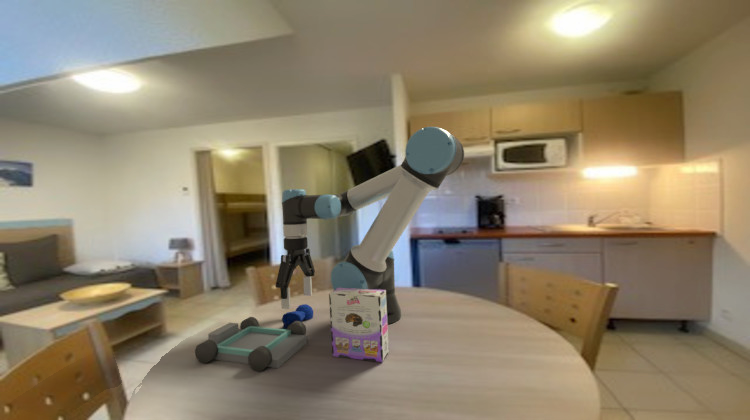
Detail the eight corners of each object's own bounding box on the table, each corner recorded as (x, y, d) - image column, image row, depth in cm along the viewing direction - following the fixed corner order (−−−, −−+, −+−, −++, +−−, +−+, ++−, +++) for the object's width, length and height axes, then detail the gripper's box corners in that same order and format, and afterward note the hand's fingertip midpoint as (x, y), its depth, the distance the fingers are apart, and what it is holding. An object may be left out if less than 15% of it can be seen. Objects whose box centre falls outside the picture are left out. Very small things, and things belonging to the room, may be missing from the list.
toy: (299, 335, 98) (317, 315, 113) (298, 315, 98) (316, 298, 112) (278, 334, 99) (298, 314, 114) (277, 314, 99) (297, 297, 114)
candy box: (389, 352, 84) (387, 289, 83) (382, 363, 78) (380, 295, 77) (340, 346, 88) (338, 286, 87) (331, 356, 82) (328, 292, 82)
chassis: (311, 339, 93) (310, 321, 93) (271, 373, 75) (270, 352, 75) (241, 331, 100) (241, 315, 100) (190, 361, 83) (189, 342, 82)
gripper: (304, 232, 118) (306, 289, 119) (261, 242, 95) (264, 313, 95) (323, 232, 116) (325, 291, 117) (283, 242, 92) (286, 316, 93)
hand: (297, 301), depth 106 cm, fingers open, 13 cm apart
